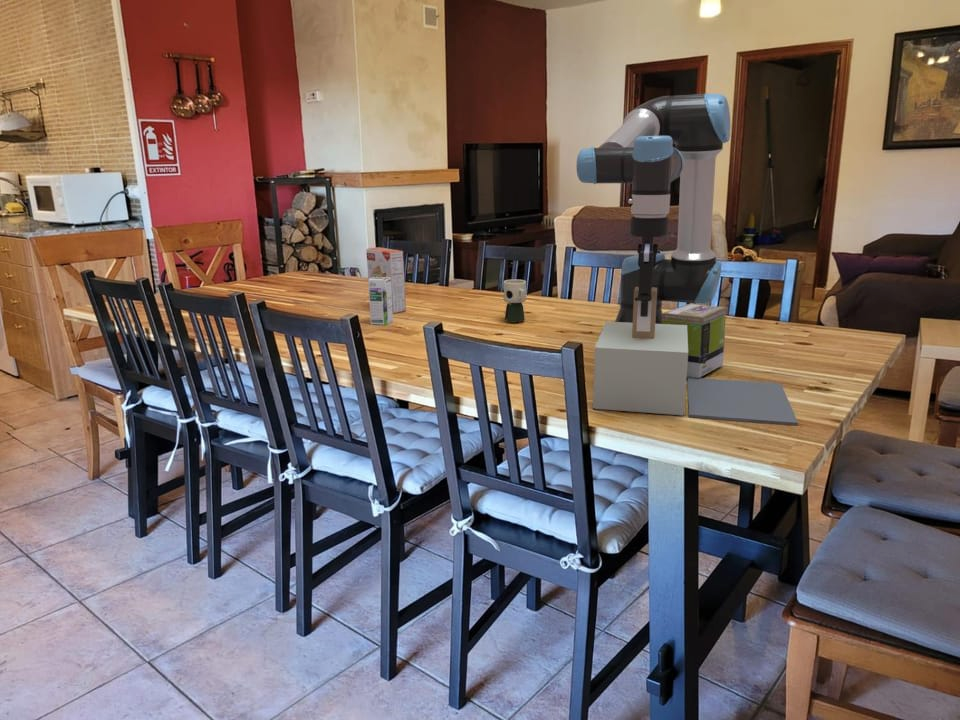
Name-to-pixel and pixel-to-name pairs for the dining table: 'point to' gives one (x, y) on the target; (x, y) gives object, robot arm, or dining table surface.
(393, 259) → the cracker box
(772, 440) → the dining table surface
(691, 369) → the tea box
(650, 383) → the cover
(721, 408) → the mat
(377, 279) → the syrup box
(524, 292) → the character mug
